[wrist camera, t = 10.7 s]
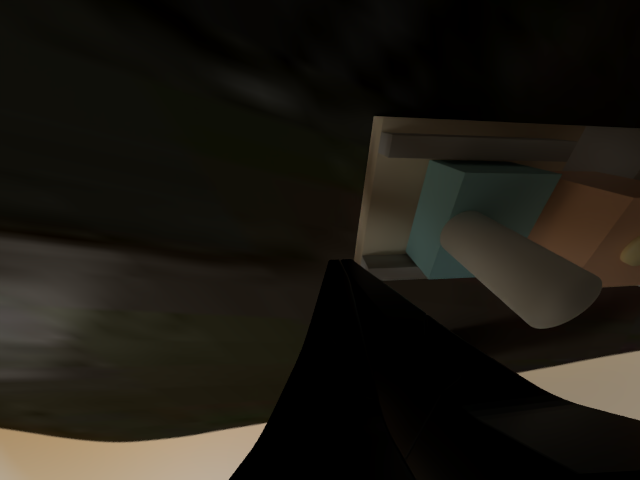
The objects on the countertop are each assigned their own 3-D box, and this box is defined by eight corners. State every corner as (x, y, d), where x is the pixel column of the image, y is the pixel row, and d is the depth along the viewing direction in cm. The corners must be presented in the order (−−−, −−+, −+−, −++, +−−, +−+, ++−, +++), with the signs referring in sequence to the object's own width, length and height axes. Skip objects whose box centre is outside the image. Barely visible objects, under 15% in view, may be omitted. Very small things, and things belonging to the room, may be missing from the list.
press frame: (373, 116, 13) (424, 119, 8) (662, 129, 15) (831, 138, 11) (353, 263, 18) (377, 319, 13) (575, 255, 20) (663, 300, 15)
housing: (527, 170, 14) (643, 200, 9) (596, 171, 15) (737, 200, 10) (493, 241, 16) (572, 293, 12) (553, 240, 17) (652, 288, 12)
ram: (426, 159, 13) (588, 219, 6) (509, 161, 13) (743, 217, 7) (402, 251, 16) (492, 363, 9) (471, 249, 16) (606, 351, 9)
